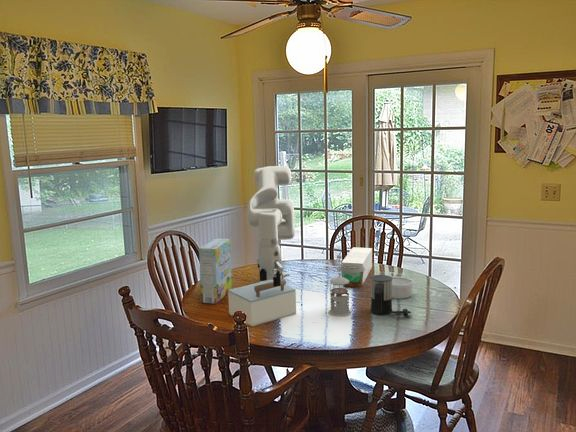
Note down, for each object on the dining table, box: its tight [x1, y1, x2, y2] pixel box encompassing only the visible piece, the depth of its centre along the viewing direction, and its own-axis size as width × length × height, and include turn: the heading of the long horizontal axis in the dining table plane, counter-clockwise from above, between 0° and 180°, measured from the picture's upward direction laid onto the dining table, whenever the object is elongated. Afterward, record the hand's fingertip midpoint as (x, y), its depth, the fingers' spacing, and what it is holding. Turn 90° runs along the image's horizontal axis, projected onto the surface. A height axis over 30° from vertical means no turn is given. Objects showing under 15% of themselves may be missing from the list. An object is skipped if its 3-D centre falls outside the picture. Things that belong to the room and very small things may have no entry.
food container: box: [340, 264, 365, 289], centre depth 247 cm, size 12×6×10 cm, turn 68°
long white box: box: [340, 246, 373, 285], centre depth 268 cm, size 32×11×11 cm, turn 163°
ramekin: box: [391, 276, 414, 300], centre depth 234 cm, size 13×13×7 cm
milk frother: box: [369, 274, 412, 316], centre depth 211 cm, size 14×16×15 cm
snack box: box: [198, 238, 233, 305], centre depth 238 cm, size 22×9×26 cm, turn 168°
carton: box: [227, 291, 297, 328], centre depth 215 cm, size 22×18×10 cm
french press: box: [327, 254, 352, 318], centre depth 214 cm, size 10×12×25 cm
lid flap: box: [228, 278, 296, 302], centre depth 213 cm, size 22×18×5 cm
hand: (270, 283), depth 208 cm, fingers open, 9 cm apart
